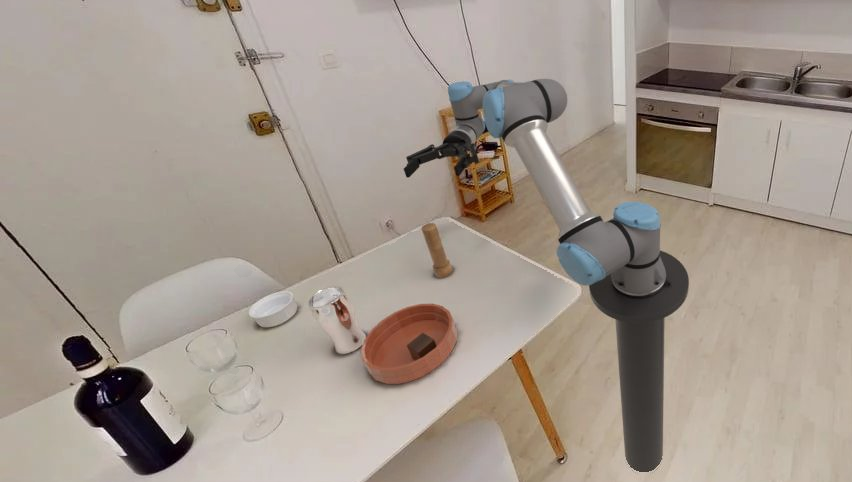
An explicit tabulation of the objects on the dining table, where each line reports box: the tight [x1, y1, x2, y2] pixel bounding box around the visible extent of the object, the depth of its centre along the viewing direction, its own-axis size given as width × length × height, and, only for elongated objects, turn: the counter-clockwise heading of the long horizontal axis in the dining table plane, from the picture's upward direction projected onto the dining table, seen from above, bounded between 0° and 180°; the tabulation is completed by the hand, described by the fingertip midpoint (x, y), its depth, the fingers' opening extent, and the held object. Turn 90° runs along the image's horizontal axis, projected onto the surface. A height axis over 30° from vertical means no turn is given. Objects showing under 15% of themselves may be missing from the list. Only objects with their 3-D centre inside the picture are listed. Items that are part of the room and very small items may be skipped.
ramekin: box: [247, 290, 298, 328], centre depth 103 cm, size 9×9×4 cm
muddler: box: [420, 222, 454, 279], centre depth 113 cm, size 5×5×16 cm
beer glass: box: [307, 285, 367, 355], centre depth 92 cm, size 7×7×15 cm
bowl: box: [360, 303, 458, 385], centre depth 93 cm, size 18×18×5 cm
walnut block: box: [407, 333, 436, 360], centre depth 91 cm, size 4×4×4 cm
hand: (431, 172), depth 111 cm, fingers open, 13 cm apart
